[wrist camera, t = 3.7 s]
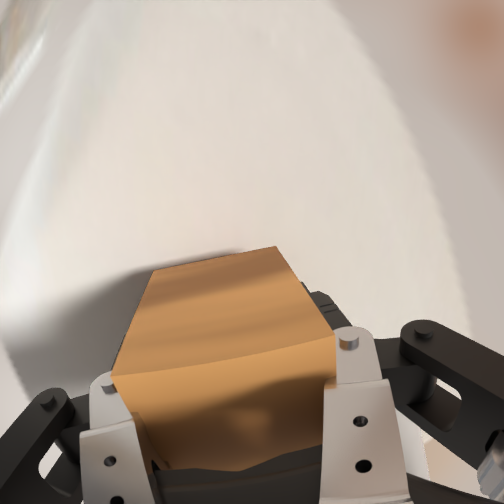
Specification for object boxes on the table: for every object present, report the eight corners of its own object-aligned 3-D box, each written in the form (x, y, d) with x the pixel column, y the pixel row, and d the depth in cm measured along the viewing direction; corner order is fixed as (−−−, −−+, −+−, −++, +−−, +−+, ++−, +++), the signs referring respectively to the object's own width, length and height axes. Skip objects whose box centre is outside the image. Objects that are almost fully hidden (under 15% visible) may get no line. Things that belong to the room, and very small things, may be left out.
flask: (354, 460, 19) (402, 565, 9) (282, 438, 17) (324, 582, 7) (428, 394, 17) (506, 494, 8) (370, 356, 15) (471, 499, 6)
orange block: (153, 270, 11) (109, 376, 6) (275, 245, 11) (335, 334, 6) (185, 367, 13) (179, 487, 7) (290, 347, 13) (335, 459, 7)
